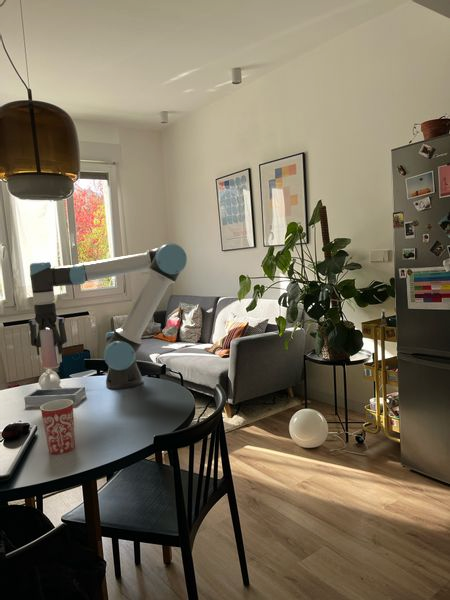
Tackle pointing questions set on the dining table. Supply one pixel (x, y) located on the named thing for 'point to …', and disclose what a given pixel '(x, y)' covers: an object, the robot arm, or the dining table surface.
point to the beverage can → (48, 349)
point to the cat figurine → (49, 380)
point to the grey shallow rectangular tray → (54, 396)
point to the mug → (59, 425)
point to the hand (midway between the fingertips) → (51, 362)
